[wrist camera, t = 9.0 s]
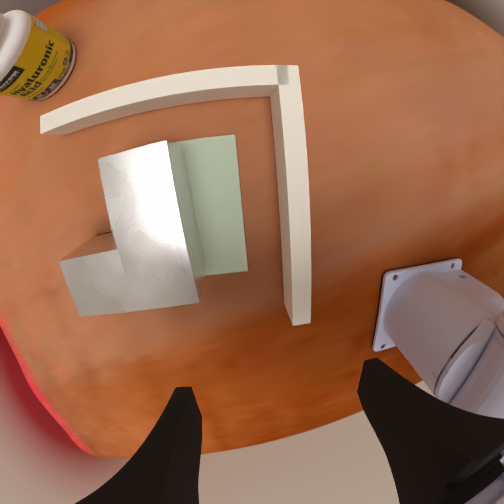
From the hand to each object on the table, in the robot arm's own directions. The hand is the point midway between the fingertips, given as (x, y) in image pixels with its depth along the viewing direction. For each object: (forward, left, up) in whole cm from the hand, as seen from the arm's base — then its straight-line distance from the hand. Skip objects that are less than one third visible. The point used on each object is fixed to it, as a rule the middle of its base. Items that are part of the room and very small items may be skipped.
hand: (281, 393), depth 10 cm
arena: (+5, -6, -10) cm, 13 cm away
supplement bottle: (+14, -19, -10) cm, 26 cm away
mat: (+5, -6, -10) cm, 13 cm away
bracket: (+7, -6, -10) cm, 13 cm away
